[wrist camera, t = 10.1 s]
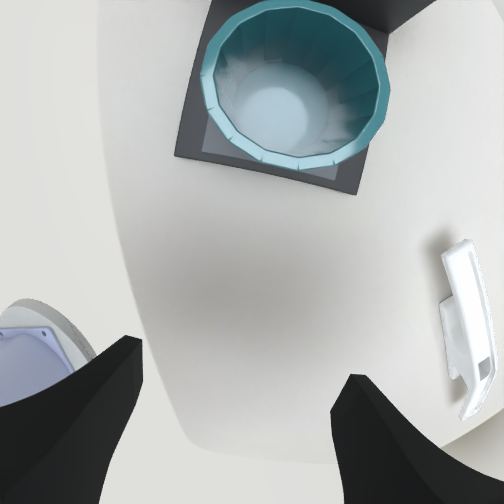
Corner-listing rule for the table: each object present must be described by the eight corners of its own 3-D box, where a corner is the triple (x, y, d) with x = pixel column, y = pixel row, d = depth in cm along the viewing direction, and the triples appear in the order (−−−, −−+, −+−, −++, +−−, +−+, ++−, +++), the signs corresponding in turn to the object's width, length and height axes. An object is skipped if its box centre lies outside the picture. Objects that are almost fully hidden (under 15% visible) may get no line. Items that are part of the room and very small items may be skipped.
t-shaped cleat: (466, 215, 16) (518, 240, 11) (480, 384, 22) (503, 417, 17) (423, 241, 17) (470, 275, 12) (450, 404, 23) (470, 440, 18)
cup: (237, 168, 15) (220, 185, 8) (218, 68, 13) (187, 14, 6) (341, 152, 14) (402, 159, 8) (322, 54, 13) (365, -3, 6)
